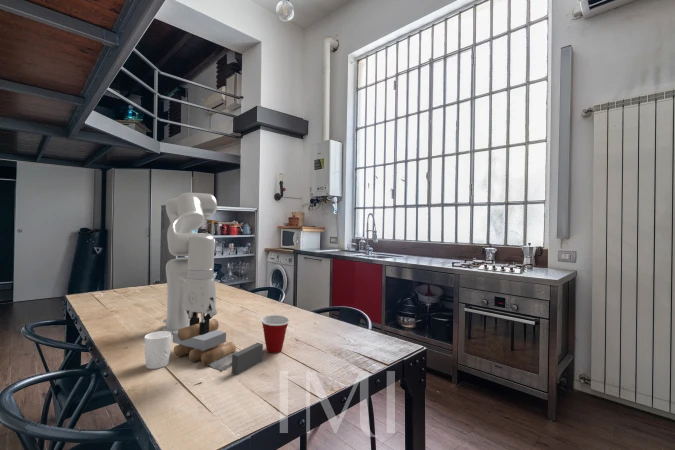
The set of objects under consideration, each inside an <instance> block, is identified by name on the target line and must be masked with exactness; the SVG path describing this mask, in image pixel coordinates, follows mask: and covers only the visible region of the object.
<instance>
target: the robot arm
mask: <svg viewBox="0 0 675 450" xmlns="http://www.w3.org/2000/svg"><path fill="white" fill-rule="evenodd" d="M217 210H218V201H217V199H216V197H215V196H214V195H213V194H211V193H206V192H205V193H203V192H183V193H181V194H180V195H178V196H177V197H175V198H174V197H173V198H169V199H168V200H166V203H165V211H166V215H167V218H168V219H169V223H170V224H169V226H168V228H167V233H166V238H167V248H168V251H169V254H171V255H172V256H174V257H179V258H173V259H169V260H168V261H167V262H166V265H165V275H166V285H167V286H166V288H167V293H166V295H167V296H166V317H165V319H163V320H162V322H163V323H164V324H165V326H163V327H162V331H168V332H171V335H173V333H174V332H177V331H178V330H179V329H181V328H185V327H188V326H192V325H195V324H199V323H200V329H199V334H200V335H204V334H206V333H209V320H212V318H213V317H214V316H216V315H217V314H218V311H217V308H216V305H217V304H216V303H217V300H216V299H217V294H216V282H215V279H214V272H215V271H214V269H215V249H216V239H215V238H214V236H213V235H212V234H211V233H201V232H200V233H199V232H197V233H196V232H195V233H194V232H193V231H196V230H198V229H200V228H201V227H202V226H203V225H204V223H205V220H209V219H210V218H212V217H213V216H214V215H215V214H216V212H217ZM180 257H182V258H180ZM185 257H186V258H185ZM199 314H200V317H199ZM205 314H206V315H205ZM200 320H201V321H200Z"/></svg>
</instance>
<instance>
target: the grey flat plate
mask: <svg viewBox="0 0 675 450" xmlns="http://www.w3.org/2000/svg"><path fill="white" fill-rule="evenodd" d="M237 352H238V351H237V350H236V351H235V352H233V353H230V354H228V355H226V356H224V357H222V358H220V359H217V360H215V361H213V362H211V363H209V365H208V366H209V367H210V368H213V369H216V370H219V371H225V370H226V369H229V368H230V367H231V368H232V354H234V353H237Z"/></svg>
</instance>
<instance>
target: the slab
mask: <svg viewBox="0 0 675 450" xmlns="http://www.w3.org/2000/svg"><path fill="white" fill-rule="evenodd" d="M226 342H227V332H226V331H223V330H218V329H217V330H215V331H211V332H209V333H206V334H204V335H199V336H196V337H193V338H190V339H187V340H184V341H181V340H180V339H179V338H178V331H177V332H174V333H172V343H174V344H177V345H179V344H180V345H184V346H187V347H191V348H195V349H198V350H202V351H205V350H207V349H210V348H212V347H215V346H217V345H219V344H222V343H226Z"/></svg>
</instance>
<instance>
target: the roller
mask: <svg viewBox="0 0 675 450" xmlns="http://www.w3.org/2000/svg"><path fill="white" fill-rule="evenodd" d="M219 325H220V324H219V321H218V320H217V319H216V318H214V319H211V320H209V332H211V331H215V330H218V329H219V328H220V326H219ZM199 329H200V322H199V324H195V325H192V326H188V327H185V328H181V329H179V330H178V338H179V339H180V340H181V341H184V340H187V339H190V338H193V337H196V336H199V335H200V334H199Z"/></svg>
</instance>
